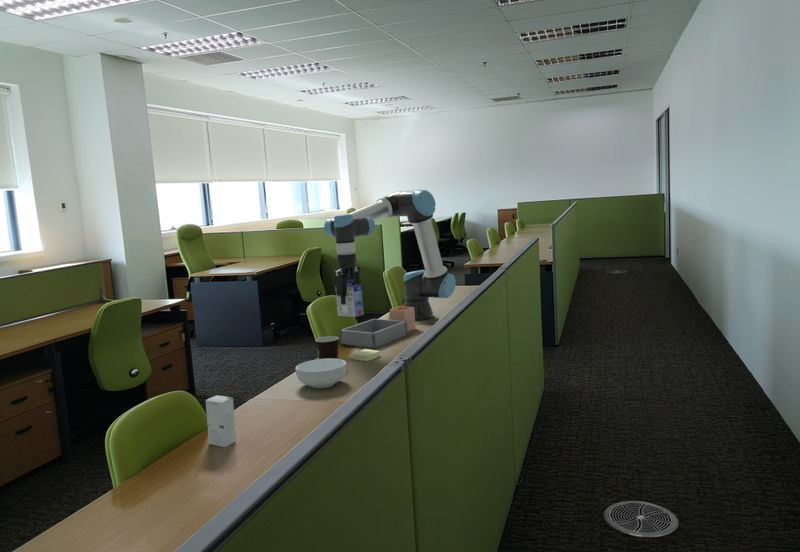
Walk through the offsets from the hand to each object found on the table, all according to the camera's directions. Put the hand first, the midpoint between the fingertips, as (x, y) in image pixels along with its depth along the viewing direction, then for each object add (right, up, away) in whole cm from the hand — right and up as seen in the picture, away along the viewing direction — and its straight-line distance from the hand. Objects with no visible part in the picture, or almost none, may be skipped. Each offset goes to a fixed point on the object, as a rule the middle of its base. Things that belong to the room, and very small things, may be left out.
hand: (350, 310), depth 249 cm
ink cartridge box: (0, -2, 0) cm, 2 cm away
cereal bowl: (-6, -23, -41) cm, 47 cm away
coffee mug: (-6, -19, -16) cm, 26 cm away
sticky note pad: (+7, -18, -10) cm, 22 cm away
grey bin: (+9, -13, +19) cm, 24 cm away
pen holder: (+21, -11, +33) cm, 40 cm away
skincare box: (-27, -30, -86) cm, 95 cm away
